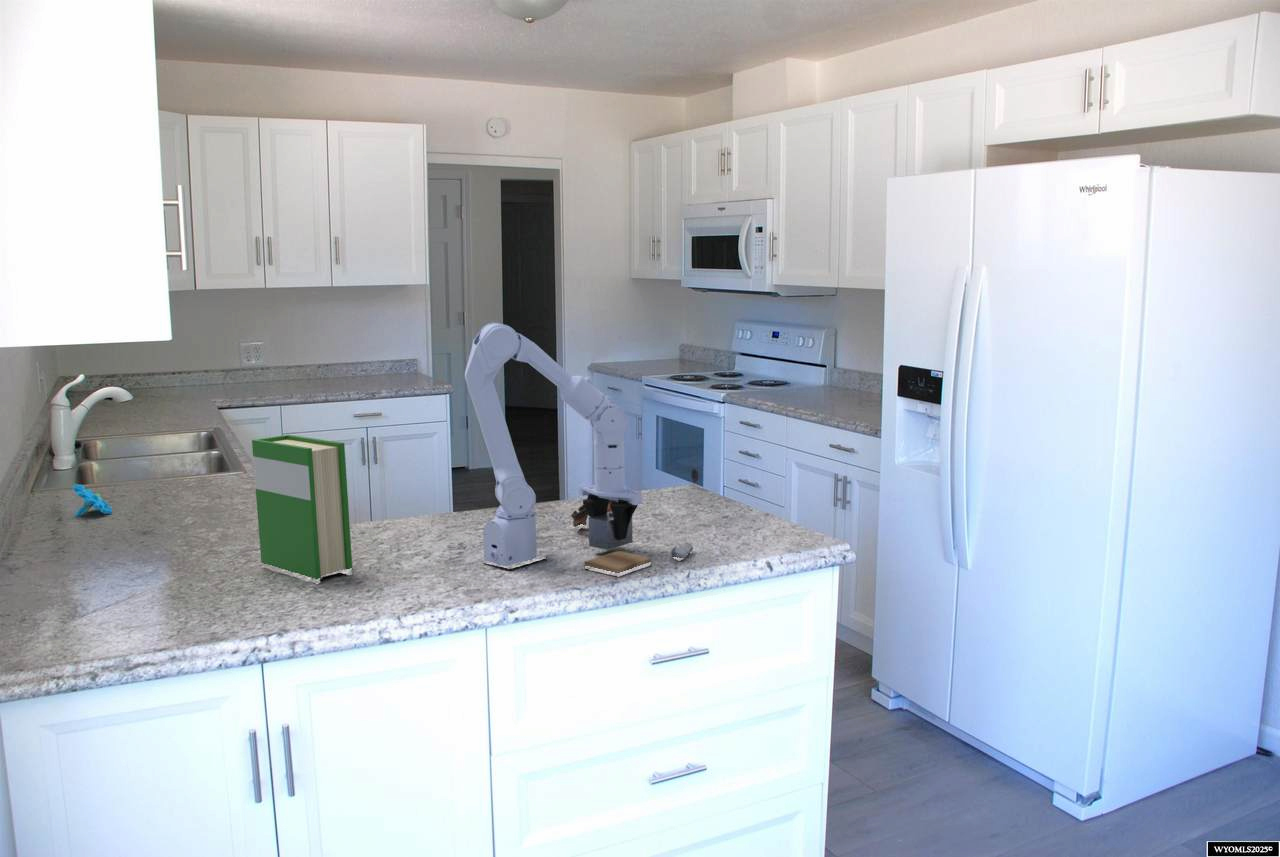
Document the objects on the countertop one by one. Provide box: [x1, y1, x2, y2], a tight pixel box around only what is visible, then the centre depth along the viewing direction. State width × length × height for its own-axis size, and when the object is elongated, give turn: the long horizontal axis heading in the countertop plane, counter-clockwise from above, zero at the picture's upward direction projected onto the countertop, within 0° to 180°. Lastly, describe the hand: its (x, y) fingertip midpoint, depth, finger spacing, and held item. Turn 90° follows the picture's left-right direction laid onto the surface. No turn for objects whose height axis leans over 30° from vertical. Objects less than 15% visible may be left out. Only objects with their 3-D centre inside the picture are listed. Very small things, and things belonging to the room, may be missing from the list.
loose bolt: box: [670, 543, 694, 559], centre depth 187 cm, size 6×3×3 cm, turn 159°
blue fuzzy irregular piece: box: [72, 483, 113, 517], centre depth 232 cm, size 11×6×10 cm
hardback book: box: [251, 434, 353, 579], centre depth 182 cm, size 18×7×24 cm, turn 51°
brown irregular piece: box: [570, 500, 618, 528], centre depth 209 cm, size 12×10×8 cm
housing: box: [588, 511, 634, 551], centre depth 191 cm, size 7×5×6 cm
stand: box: [584, 550, 652, 573], centre depth 181 cm, size 9×8×2 cm
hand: (610, 536), depth 192 cm, fingers closed on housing, 5 cm apart
